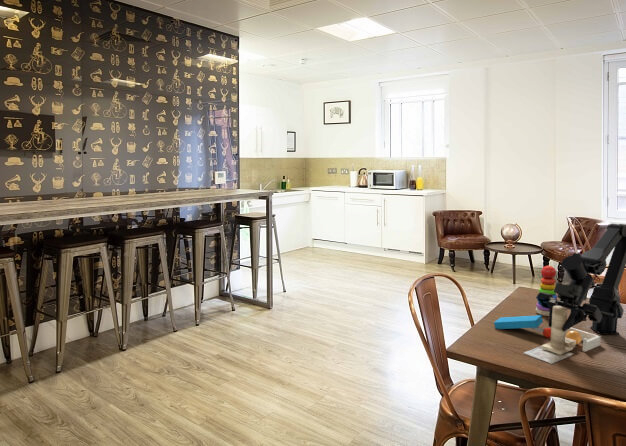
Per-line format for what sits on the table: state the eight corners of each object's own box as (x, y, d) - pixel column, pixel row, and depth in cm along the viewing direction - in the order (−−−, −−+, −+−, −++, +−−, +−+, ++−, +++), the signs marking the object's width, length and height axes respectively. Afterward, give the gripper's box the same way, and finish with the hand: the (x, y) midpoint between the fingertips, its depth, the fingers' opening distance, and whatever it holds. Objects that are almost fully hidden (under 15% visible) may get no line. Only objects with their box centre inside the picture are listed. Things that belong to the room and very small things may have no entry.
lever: (498, 341, 171) (551, 340, 159) (493, 322, 171) (546, 319, 159) (505, 336, 176) (557, 334, 164) (500, 317, 176) (552, 314, 164)
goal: (567, 335, 164) (568, 323, 164) (600, 345, 156) (601, 333, 155) (552, 340, 159) (553, 329, 159) (585, 351, 150) (586, 339, 150)
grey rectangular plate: (545, 345, 156) (545, 344, 156) (573, 354, 148) (573, 353, 148) (523, 353, 149) (523, 352, 149) (551, 364, 142) (551, 363, 142)
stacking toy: (559, 312, 188) (562, 265, 185) (556, 318, 181) (560, 269, 178) (537, 308, 192) (540, 262, 189) (533, 314, 185) (537, 266, 182)
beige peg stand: (558, 341, 157) (561, 301, 155) (576, 347, 152) (580, 306, 150) (541, 348, 152) (544, 307, 150) (560, 354, 147) (563, 312, 145)
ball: (565, 336, 155) (567, 347, 156) (581, 336, 153) (583, 347, 154) (564, 328, 158) (566, 339, 160) (579, 327, 156) (581, 338, 158)
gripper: (541, 267, 158) (519, 306, 153) (600, 280, 142) (577, 323, 138) (553, 287, 163) (531, 325, 159) (611, 301, 148) (590, 343, 143)
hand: (556, 328), depth 149 cm, fingers closed on beige peg stand, 4 cm apart
